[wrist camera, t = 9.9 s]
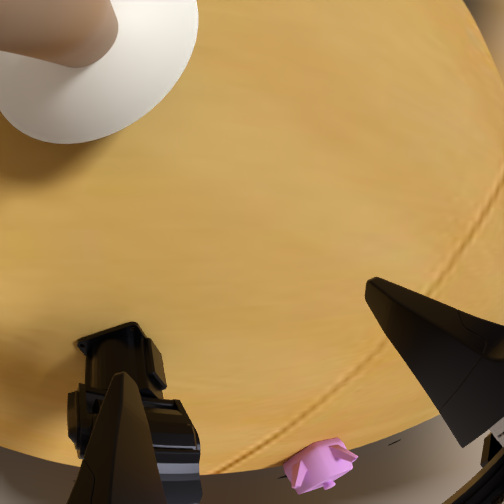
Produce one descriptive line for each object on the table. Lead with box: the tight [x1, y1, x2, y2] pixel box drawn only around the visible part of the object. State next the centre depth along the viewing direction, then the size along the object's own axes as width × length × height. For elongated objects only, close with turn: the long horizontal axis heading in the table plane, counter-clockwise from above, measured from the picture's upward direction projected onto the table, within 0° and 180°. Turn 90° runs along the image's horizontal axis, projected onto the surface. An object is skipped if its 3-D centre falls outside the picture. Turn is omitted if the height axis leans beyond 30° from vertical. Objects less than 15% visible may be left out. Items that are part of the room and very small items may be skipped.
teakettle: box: [283, 438, 358, 494], centre depth 58 cm, size 17×17×12 cm
